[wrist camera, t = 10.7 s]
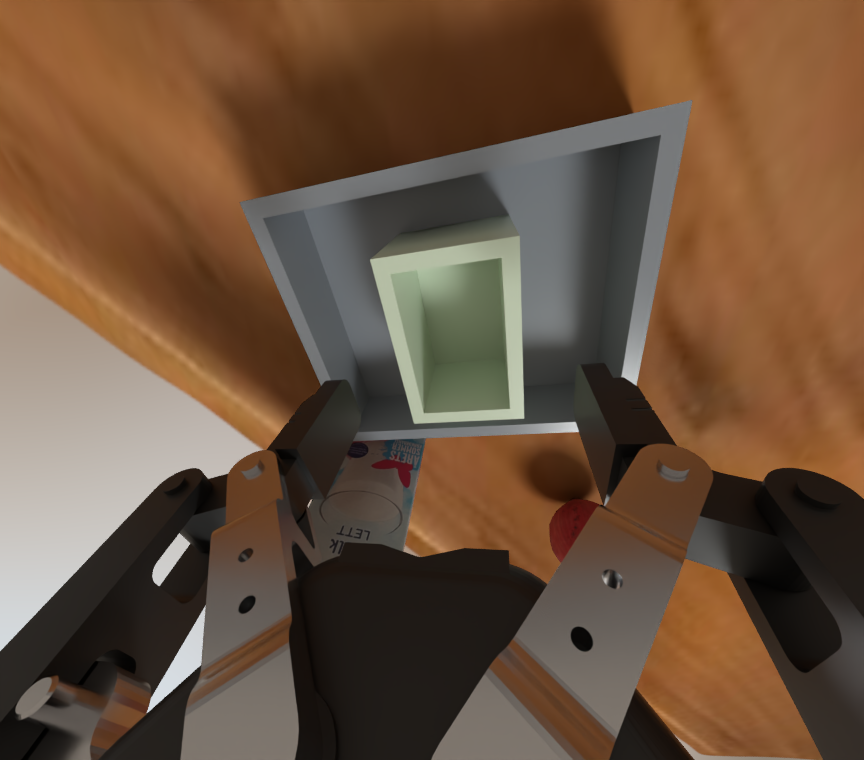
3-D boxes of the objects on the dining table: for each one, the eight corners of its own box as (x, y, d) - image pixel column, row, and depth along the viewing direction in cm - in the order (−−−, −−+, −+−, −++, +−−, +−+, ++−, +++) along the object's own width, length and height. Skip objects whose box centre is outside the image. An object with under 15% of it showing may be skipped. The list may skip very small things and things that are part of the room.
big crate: (634, 117, 15) (692, 99, 11) (601, 381, 23) (627, 429, 19) (292, 193, 19) (239, 202, 15) (366, 398, 27) (345, 441, 23)
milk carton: (352, 420, 28) (124, 873, 10) (426, 435, 28) (327, 921, 10) (352, 469, 32) (185, 862, 14) (417, 482, 32) (333, 897, 14)
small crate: (508, 214, 17) (519, 235, 12) (514, 360, 22) (524, 418, 17) (400, 233, 18) (369, 259, 13) (428, 367, 23) (414, 423, 18)
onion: (556, 474, 29) (578, 566, 22) (620, 487, 29) (661, 583, 22) (535, 511, 32) (548, 601, 26) (592, 523, 32) (620, 616, 25)
